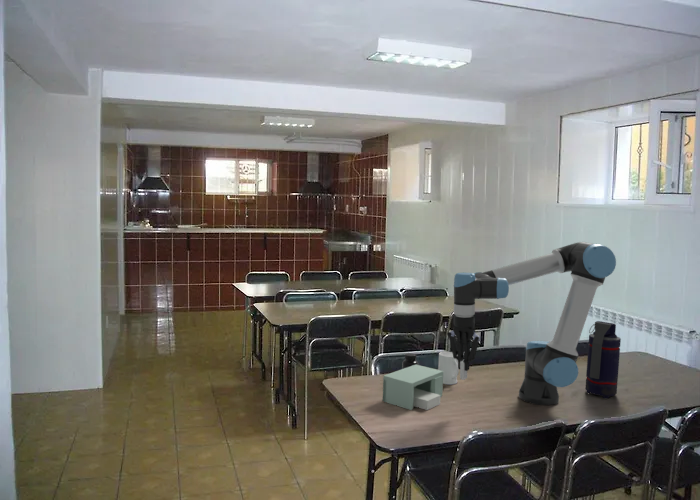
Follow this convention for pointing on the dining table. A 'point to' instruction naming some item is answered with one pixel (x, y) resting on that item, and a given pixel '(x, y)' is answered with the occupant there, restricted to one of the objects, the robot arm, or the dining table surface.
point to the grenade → (603, 360)
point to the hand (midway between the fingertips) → (463, 378)
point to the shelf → (410, 384)
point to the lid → (425, 399)
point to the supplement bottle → (409, 360)
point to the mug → (448, 367)
